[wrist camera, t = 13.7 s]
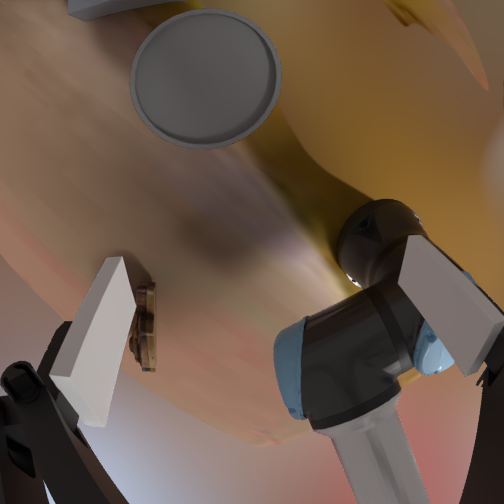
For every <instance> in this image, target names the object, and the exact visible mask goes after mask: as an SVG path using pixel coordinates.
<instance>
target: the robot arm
mask: <svg viewBox="0 0 504 504" xmlns="http://www.w3.org/2000/svg"><path fill="white" fill-rule="evenodd" d="M337 259H338V262H339V265H340V267H341V269H342V270H343V272H344V273H345V275H346V276H347V278H348V279H349V280H350V281H351V282H352V283H354V284H355V285H357V286H359V287H361V288H362V289H364V290H361V291H359V292H358V293H356V294H354V295H352V296H350V297H348V298H346V299H344V300H342V301H340V302H338V303H336V304H334V305H332V306H330V307H328V308H326V309H324V310H322V311H320V312H318V313H316V314H314V315H312V316H305V317H303V319H302V320H301V321H299V322H297V323H295V324H293V325H291V326H289V327H287V328H285V329H284V330H282V331H281V332H280V333H279V334H278V335H277V337H276V340H275V343H274V353H273V354H274V366H275V372H276V377H277V382H278V386H279V389H280V392H281V396H282V398H283V401H284V404H285V405H286V407H287V408H288V410H289V413H290V415H291V416H292V417H293V418H294V419H296V420H305V419H307V418H308V419H309V421H310V424H311V426H312V429H313V431H314V432H317V433H319V434H322V435H325V436H328V437H329V438H331V441H332V443H333V445H334V448H335V450H336V453H337V455H338V457H339V460H340V462H341V464H342V467H343V469H344V472H345V474H346V476H347V479H348V481H349V484H350V486H351V488H352V491H353V493H354V496H355V498H356V500H357V502H358V504H430V501H429V498H428V495H427V492H426V489H425V486H424V483H423V480H422V477H421V474H420V471H419V469H418V466H417V463H416V460H415V457H414V455H413V452H412V449H411V446H410V444H409V441H408V439H407V436H406V433H405V431H404V428H403V425H402V423H401V420H400V418H399V415H398V413H397V410H396V404H397V402H398V400H399V397H400V395H401V393H402V389H401V387H400V385H399V382H398V380H397V377H398V376H399V375H401V374H403V373H405V372H407V371H408V370H410V369H412V368H414V367H415V369H416V370H417V371H418V372H420V373H422V374H424V375H432V374H433V373H434V374H437V373H439V372H442V371H444V370H445V369H447V368H448V367H450V366H451V365H452V364H454V363H456V364H457V366H458V367H459V369H460V370H461V372H462V373H463V375H464V377H466V376H468V375H471V374H473V373H475V372H477V371H478V370H479V368H480V367H481V365H482V363H483V362H485V363H486V364H487V367H486V369H485V371H484V372H483V374H482V375H481V377H480V378H479V380H478V381H477V384H476V385H477V386H478V385H479V384H480V382H481V381H482V380H483V384H482V386H481V387H483V392H482V400H481V408H480V415H479V422H478V429H477V434H476V440H475V445H474V450H473V455H472V459H471V463H470V467H469V471H468V475H467V479H466V483H465V486H464V489H463V493H462V496H461V499H460V503H459V504H504V312H503V311H502V310H501V309H500V307H499V306H498V305H497V304H496V303H495V302H493V300H492V299H491V298H490V297H488V295H487V294H486V293H485V292H484V291H483V290H482V289H481V288H480V287H479V286H478V284H477V283H476V282H475V281H474V279H473V278H472V276H471V275H470V274H469V273H468V272H466V271H465V270H464V269H462V268H461V267H460V266H459V265H458V264H457V263H456V262H455V261H454V260H453V259H452V258H451V257H449V256H448V255H447V254H446V253H445V252H444V251H443V250H442V249H440V248H439V247H438V246H437V245H436V244H435V243H434V242H432V241H431V240H430V239H429V237H428V235H427V233H426V232H425V230H424V229H423V225H422V223H421V221H420V219H419V217H418V216H417V215H416V213H415V212H414V211H413V210H411V209H410V208H409V207H408V206H406V205H405V204H403V203H402V202H400V201H397V200H393V199H381V200H376V201H373V202H370V203H368V204H366V205H364V206H363V207H361V208H360V209H358V210H357V211H356V212H355V213H354V214H353V215H352V216H351V217H350V218H349V219H348V221H347V222H346V223H345V225H344V227H343V229H342V231H341V233H340V235H339V239H338V243H337ZM135 309H136V304H135V300H134V297H133V294H132V290H131V287H130V283H129V280H128V276H127V272H126V268H125V265H124V261H123V257H122V256H120V257H107V258H106V260H105V261H104V263H103V265H102V267H101V268H100V270H99V272H98V274H97V276H96V278H95V279H94V281H93V283H92V285H91V287H90V289H89V291H88V292H87V294H86V296H85V298H84V300H83V302H82V304H81V306H80V308H79V310H78V312H77V314H76V316H75V318H74V320H73V321H65V322H64V323H63V324H62V325H61V326H60V327H59V328H58V329H57V330H56V332H55V334H54V336H53V338H52V340H51V342H50V344H49V346H48V348H47V349H48V350H46V352H45V354H44V356H43V359H42V361H41V363H40V365H39V367H38V370H37V372H36V371H35V370H34V368H33V367H32V365H31V364H30V363H28V362H26V361H18V362H15V363H13V364H11V365H10V366H9V367H7V369H6V370H5V371H4V372H3V374H2V376H1V379H0V380H1V381H0V382H1V384H0V385H1V387H2V388H3V389H4V390H5V392H6V393H7V394H8V395H7V396H0V504H49V501H48V498H47V493H46V489H45V485H44V482H45V484H46V486H47V488H48V490H49V492H50V494H51V496H52V497H53V500H54V501H55V503H56V504H129V503H128V502H127V500H126V499H125V497H124V496H123V495H122V493H121V492H120V491H119V489H118V488H117V487H116V485H115V484H114V482H113V481H112V480H111V478H110V477H109V475H108V474H107V472H106V471H105V469H104V468H103V466H102V465H101V463H100V462H99V460H98V459H97V457H96V455H95V454H94V452H93V451H92V449H91V447H90V446H89V444H88V442H87V441H86V439H85V437H84V435H83V434H82V432H81V430H80V429H79V428H78V427H77V423H78V419H79V417H80V418H81V420H82V421H83V422H84V423H85V424H86V425H88V426H96V427H106V422H107V417H108V413H109V408H110V404H111V399H112V395H113V391H114V386H115V382H116V378H117V374H118V370H119V366H120V362H121V359H122V355H123V351H124V347H125V344H126V340H127V337H128V333H129V330H130V326H131V323H132V319H133V316H134V313H135ZM43 480H44V481H43Z"/></svg>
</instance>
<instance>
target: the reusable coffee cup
mask: <svg viewBox="0 0 504 504" xmlns="http://www.w3.org/2000/svg"><path fill="white" fill-rule="evenodd" d="M281 81H282V71H281V63H280V59H279V56H278V53H277V50H276V48H275V47H274V45H273V43H272V41H271V39H270V38H269V37H268V35H267V34H266V33H265V32H264V31H263V30H262V29H261V28H260V27H259V26H258V25H256V24H255V23H254V22H252V21H251V20H249V19H248V18H246V17H244V16H241V15H239V14H237V13H235V12H230V11H227V10H222V9H209V8H204V9H197V10H190V11H187V12H184V13H181V14H178V15H175V16H173V17H172V18H170V19H168V20H166V21H165V22H163V23H161V24H160V25H159V26H158V27H156V28H155V29H154V30H153V31H152V32H151V33H150V34H149V35H148V36H147V37H146V39H145V40H144V41H143V42H142V44H141V45H140V47H139V49H138V51H137V53H136V55H135V57H134V60H133V63H132V67H131V71H130V84H129V85H130V92H131V98H132V101H133V104H134V107H135V109H136V112H137V113H138V115H139V116H140V118H141V119H142V121H143V123H144V124H145V125H146V126H147V127H148V128H149V129H150V130H151V131H152V132H153V133H155V134H156V135H158V136H159V137H160V138H162V139H163V140H165V141H167V142H170V143H172V144H174V145H177V146H180V147H185V148H189V149H204V150H207V149H214V148H221V147H224V146H227V145H230V144H233V143H236V142H238V141H240V140H241V139H243V138H245V137H247V136H249V135H250V134H251V133H252V132H254V131H255V130H256V129H257V128H259V127H260V126H261V124H262V123H263V122H264V121H265V120H266V119H267V118H268V116H269V115H270V113H271V111H272V110H273V108H274V106H275V104H276V102H277V99H278V96H279V93H280V88H281Z"/></svg>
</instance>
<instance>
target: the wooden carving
mask: <svg viewBox="0 0 504 504" xmlns="http://www.w3.org/2000/svg"><path fill="white" fill-rule="evenodd" d="M135 304H136V309H135V312H136V314H137V324H136V325H135V327H134V329H133V332H132V337H130V340H129V347H130V351H131V352H133V354H134V355H135V360H136V362H138V363H140V365H141V367H142V371H150V372H156V284H155V282H149V283H142V282H141V285H140V286H138V287H137V289H136V296H135Z"/></svg>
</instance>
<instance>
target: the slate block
mask: <svg viewBox="0 0 504 504" xmlns="http://www.w3.org/2000/svg"><path fill="white" fill-rule="evenodd" d="M177 1H185V0H68V14H69V15H71V16H73V17H76V18H78V19H80V20H83V21H88V20H92V19H95V18H99V17H102V16H106V15H110V14H114V13H118V12H122V11H126V10H131V9H136V8H140V7H146V6H151V5H157V4H163V3H170V2H177Z"/></svg>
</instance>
